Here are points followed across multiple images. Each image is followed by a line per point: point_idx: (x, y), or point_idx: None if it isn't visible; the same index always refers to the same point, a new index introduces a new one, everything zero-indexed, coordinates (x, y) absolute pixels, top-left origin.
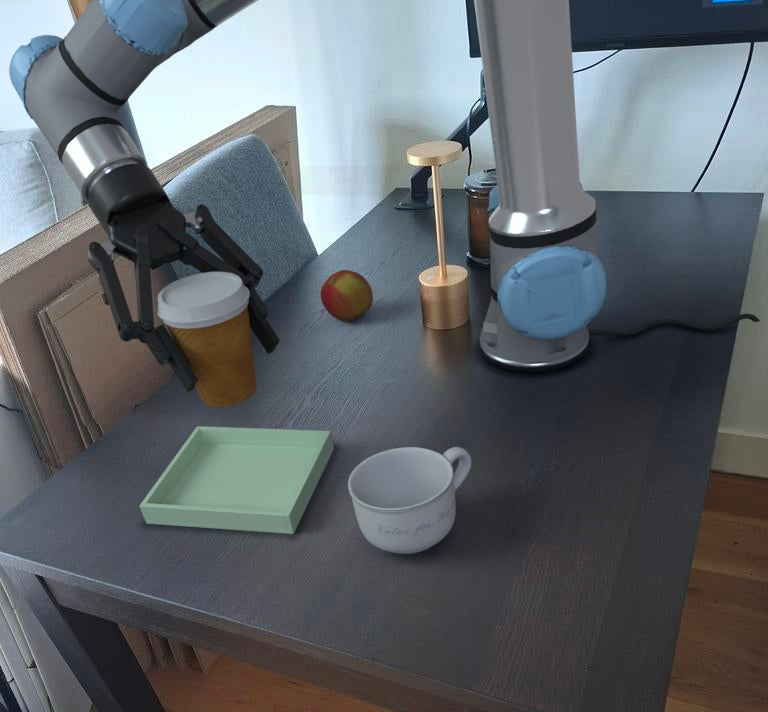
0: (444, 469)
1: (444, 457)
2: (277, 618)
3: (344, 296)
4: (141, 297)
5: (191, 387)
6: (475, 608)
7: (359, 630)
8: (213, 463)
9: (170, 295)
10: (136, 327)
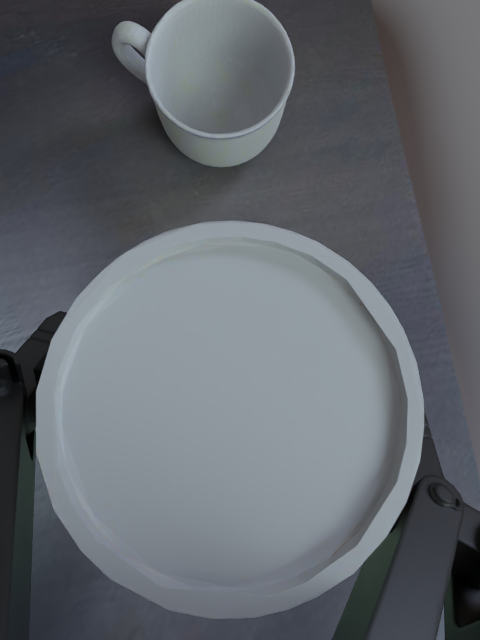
0: (165, 37)
1: (154, 29)
2: (397, 179)
3: None
4: (432, 612)
5: None
6: (283, 14)
7: (365, 97)
8: None
9: (312, 526)
10: (470, 526)
